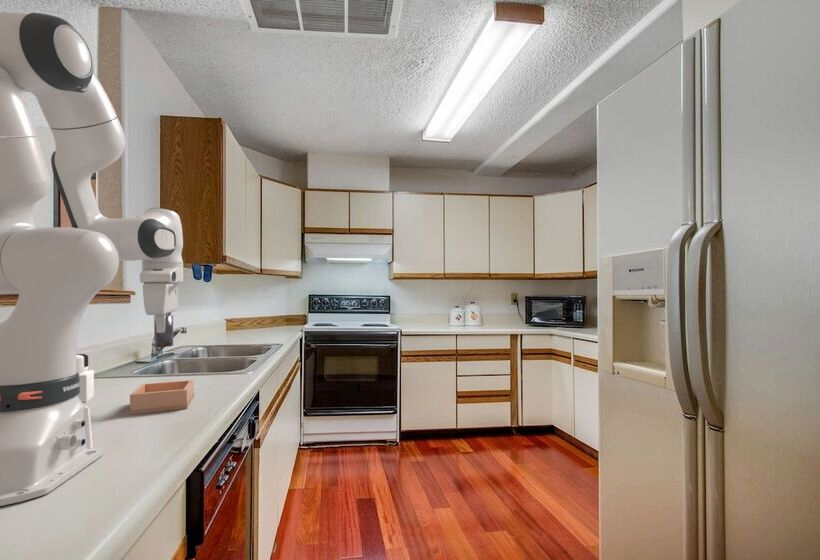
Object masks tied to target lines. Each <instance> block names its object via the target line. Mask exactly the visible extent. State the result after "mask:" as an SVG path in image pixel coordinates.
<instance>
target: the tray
mask: <svg viewBox="0 0 820 560" xmlns="http://www.w3.org/2000/svg"><path fill="white" fill-rule="evenodd" d="M194 383H195V382H194V379H188V380H187V379H186V380H176V381H174V380H173V381H163V382H161V381H160V382H151V383H150V382H149V383H142V384H141V385H139V386H138V387H137V388H136V389H135V390H134V391H133V392H132V393H130V395H129V415H137V414H138V415H139V414H149V413H157V412H167V411H168V412H169V411H179V410H187V409H188V407H189V406H190V404H191V402H192V400H193V399H194V397H195V396H194V395H195V394H194V393H195V392H194V389H195V388H194V385H195V384H194Z"/></svg>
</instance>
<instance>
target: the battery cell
mask: <svg viewBox="0 0 820 560" xmlns="http://www.w3.org/2000/svg"><path fill="white" fill-rule="evenodd" d="M153 320H154V323H153V326H154V327H153V328H154V330H153V331H154V333H153V335H154V340H153V341H154V348H166V347H172V346H174V315H173V314H172V315H168V313H166V318H165V325H166V331H165V332H163V333H157V331H156V322H155V315H153Z"/></svg>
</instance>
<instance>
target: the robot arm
mask: <svg viewBox="0 0 820 560" xmlns="http://www.w3.org/2000/svg"><path fill="white" fill-rule="evenodd" d="M25 93H31V94H32V95H33V96H35V98H36V99H37V103H38V104H39V107H40V110H41V111H42V115H43V116H44V119H45V120H46V123H47V125H48V126H49V128H50V131H51V133H52V136H53V140H54V143H55V150H54V151H53V152H52V154H51V159H50V163H51V169H52V173H53V176H54V180H55V182H56V185H57V188H58V191H59V193H60V197H61V199H62V203H63V204H64V208H65V210H66V213H67V216H68V219H69V222H70V224H71V227H70V226H59V227H58V226H57V227H56V226H55V227H54V226H53V227H52V226H51V227H49V226H48V227H36V226H35V225H36V224H35V221H34V209H35V206H36V203H37V202H38V201H40V200H41V199H43V198H45V196H47V195H48V194H49V192H50V190H51V189H52V188H51V187H52V184H53V183H52V178H51V174H50V171H49V168H48V165H47V162H46V158H45V155H44V152H43V148H42V146H41V142H40V139H39V137H38V133H37V131H36V127H35V125H34V121H33V120H32V119H33V118H32V117H31V114H30V111H29V109H28V107H27V105H26V102H25V100H24V99H25ZM126 142H127V141H126V137H125V132H124V130H123V127H122V124H121V122H120V120H119V117H118V115H117V112H116V110H115V108H114V105H113V104H112V102H111V99H110V98H109V96H108V94H107V92H106V91H105V89H104V87H103V85H102V83H101V82H100V81H99V79H98V77H97V76H96V74H95V73H94V59H93V54H92V51H91V49H90V46H89V44H88V42H87V41H86V39H85V38H84V36H82V34H81V33H80V32H79V31H78V30H77V29H76V28H75V27H74V26H73V25H72V24H71V23H69V22H68V21H67V20H65V19H64V18H61V17H58V16H55V15H51V14H46V13H40V12H30V13H22V12H21V13H17V12H5V11H4V12H3V11H0V295H18V297H17V301H16V304H15V306H14V309H13V310H12V312H11V314H10V315H9V316H8V317H7V318H6V319H5V320H4V321H2V322H0V507H2V506H8V505H11V504H15V503H20V502H24V501H28V500H31V499H35V498H38V497H41V496H44V495H47V494H48V493H50V492H51V491H53V490H56V488H58V487H59V486H60V485H62V484H63V483H65V482H66V481H68V480H69V479H71V478H72V477H73V476H74V475H76V474H77V473H79V472H80V471H82V470H83V469H85V468H86V467H87V466H89V465H91V464H92V463H93V462H95V461H96V460H97V459H100V458H101V457H102V456H103V455H104V451H103V448H102V447H97V446H94V445H93V433H92V421H91V420H92V419H91V410H90V407H88V405H87V404H85V403H82V402H81V401H80V399H79V397H78V394H79V393H80V379H79V373H77V372H76V354H78V353H77V350H78V349H77V347H78V333H79V328H80V324H81V321H82V317H83V315H84V314H85V312H86V309H87V307H88V306H89V304H90V303H91V301H92V300H93V299H94V298H95V296H96V295H97V294H98V293H99V292H100V291H101V290H102V289H104V288H105V287H107V286H108V285H110V283H112V281H113V280H114V279H115V277H116V275H117V273H118V270H119V267H120V262H124V261H125V262H126V261H129V262H131V261H132V262H133V261H134V262H135V261H141V272H140V273H139V282H140V283H142V294H143V307H144V312H145V314H146V315H147V316H155V322H156V331H157V333H163V332H165V331H166V325H165V318H166V313H168V315H173V314H172V312H176V311H178V309H179V294H178V293H179V291H178V290H179V289H178V288H179V283H183V282H184V260H183V256H182V252H183V248H184V235H183V226H182V222H181V218H180V215H179V214H178V213H176V212H175V211H173V210H170V209H166V208H162V207H152V208H148V209H147V208H146V209H145V211H144V214H142V215H140V216H135V217H128V218H127V217H126V218H109V217H106V216H105V215H103V214H102V213H101V211H100V209H99V206H98V202H97V200H96V196H95V193H94V190H93V187H92V180H91V179H92V176H93V174H94V173H95V174H96V173H97V172H100V171H102V170H103V169H105V168H107V167H109V166H110V165H112V164H114V163H115V162H117V161H118V160H119V159H120V157H121V156H122V155H123V153H124V152H125V151H124V150H125V148H126Z"/></svg>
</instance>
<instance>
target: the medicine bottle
mask: <svg viewBox="0 0 820 560" xmlns="http://www.w3.org/2000/svg"><path fill="white" fill-rule="evenodd" d="M76 372H77V373H79V379H80V393H79V394H78V397H79V399H80V401H81V402H82V403H83V404H85V403H87V402H88V401H90V400H91V399H92V398H93V397H95V370H94V369H89V355H88V354H86V353H76Z"/></svg>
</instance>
